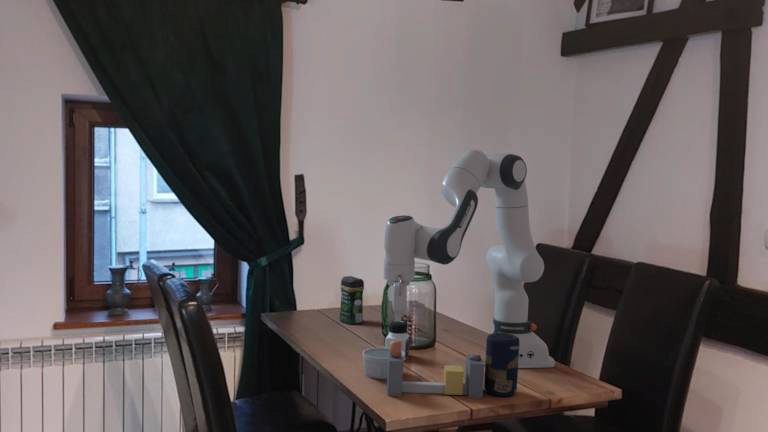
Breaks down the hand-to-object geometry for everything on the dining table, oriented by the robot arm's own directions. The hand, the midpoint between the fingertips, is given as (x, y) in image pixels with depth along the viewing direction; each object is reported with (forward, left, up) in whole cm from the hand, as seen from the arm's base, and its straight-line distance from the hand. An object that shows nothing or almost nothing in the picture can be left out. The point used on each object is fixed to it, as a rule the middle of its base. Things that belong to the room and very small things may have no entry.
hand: (397, 320), depth 203 cm
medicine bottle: (-2, -35, -21) cm, 41 cm away
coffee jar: (+15, -83, -21) cm, 87 cm away
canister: (-31, -1, -21) cm, 37 cm away
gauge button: (0, 0, -10) cm, 10 cm away
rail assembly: (-11, 0, -21) cm, 23 cm away
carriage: (-17, 0, -21) cm, 27 cm away
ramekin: (+3, -15, -21) cm, 26 cm away
